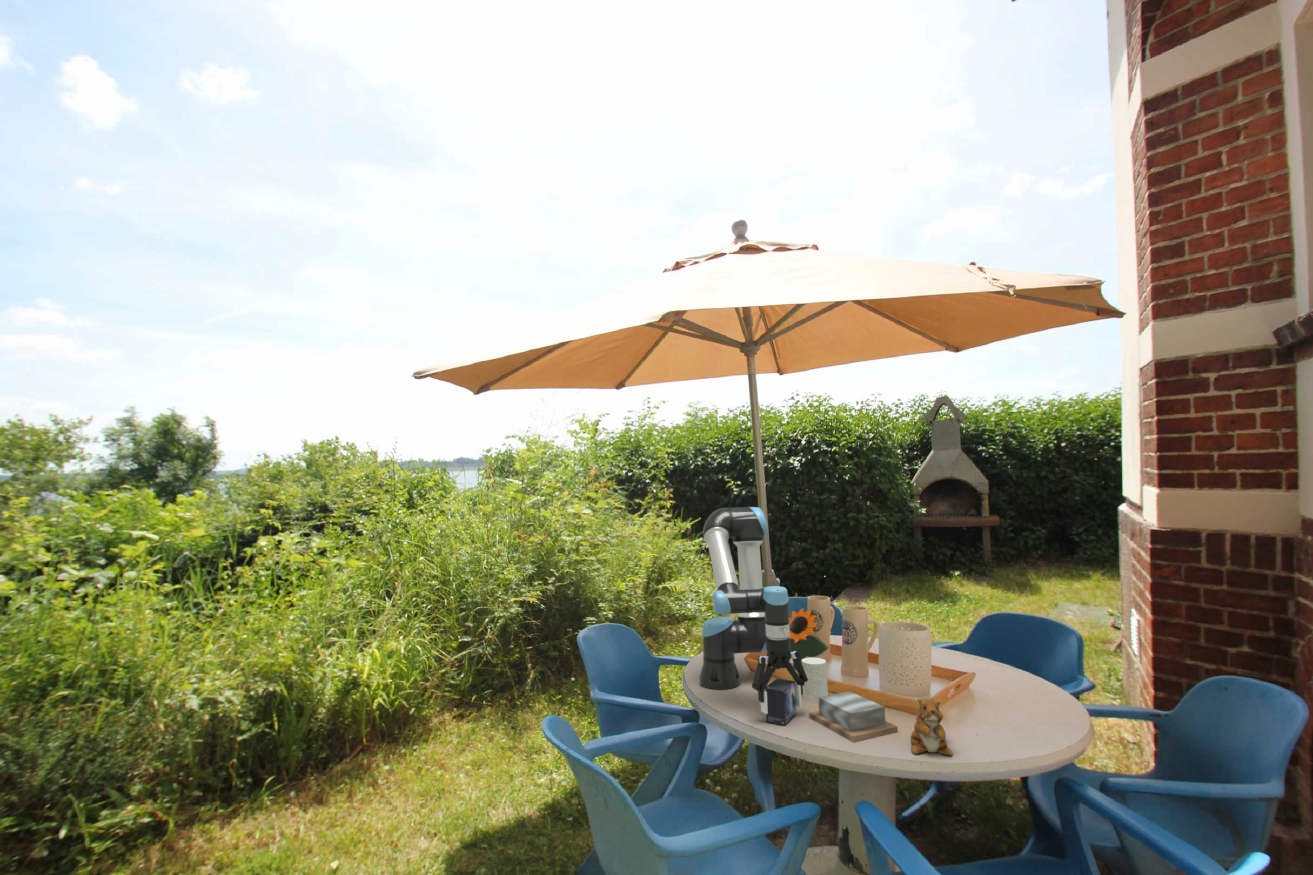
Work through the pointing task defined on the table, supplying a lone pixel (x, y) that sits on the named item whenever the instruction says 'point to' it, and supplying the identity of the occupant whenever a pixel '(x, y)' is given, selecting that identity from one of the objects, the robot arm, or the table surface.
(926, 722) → the stuffed squirrel
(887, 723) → the building base
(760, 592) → the robot arm
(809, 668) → the cup
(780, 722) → the small box
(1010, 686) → the table surface
